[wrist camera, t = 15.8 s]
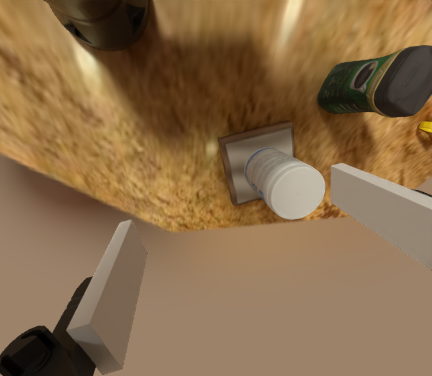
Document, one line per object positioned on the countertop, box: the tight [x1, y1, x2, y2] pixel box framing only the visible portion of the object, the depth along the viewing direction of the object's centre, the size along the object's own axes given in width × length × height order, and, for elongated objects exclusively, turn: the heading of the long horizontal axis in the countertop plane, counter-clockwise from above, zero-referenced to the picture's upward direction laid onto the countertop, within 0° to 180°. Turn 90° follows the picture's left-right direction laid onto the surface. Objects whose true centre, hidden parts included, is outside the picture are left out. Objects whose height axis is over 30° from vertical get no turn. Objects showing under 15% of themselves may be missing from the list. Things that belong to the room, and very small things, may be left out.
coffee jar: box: [318, 45, 432, 118], centre depth 38 cm, size 10×8×19 cm
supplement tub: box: [244, 147, 325, 220], centre depth 40 cm, size 10×10×15 cm
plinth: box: [218, 121, 295, 206], centre depth 48 cm, size 16×16×4 cm
